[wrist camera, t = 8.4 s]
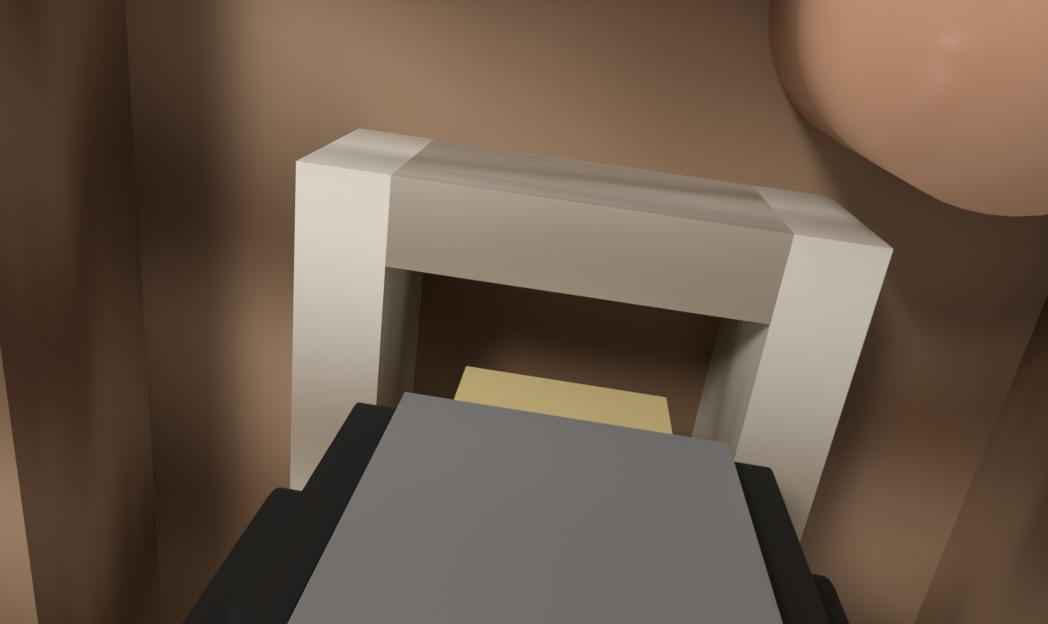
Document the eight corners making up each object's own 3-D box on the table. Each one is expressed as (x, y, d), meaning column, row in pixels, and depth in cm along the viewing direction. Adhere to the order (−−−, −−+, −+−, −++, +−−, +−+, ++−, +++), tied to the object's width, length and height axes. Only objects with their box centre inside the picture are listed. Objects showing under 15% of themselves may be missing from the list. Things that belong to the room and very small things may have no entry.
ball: (810, -177, 11) (917, -267, 7) (1122, -136, 11) (1389, -206, 7) (739, 133, 13) (797, 186, 9) (1010, 172, 13) (1182, 242, 9)
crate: (66, -404, 12) (-233, -633, 7) (1306, -250, 11) (1742, -406, 7) (141, 631, 19) (13, 806, 15) (882, 756, 18) (966, 976, 14)
